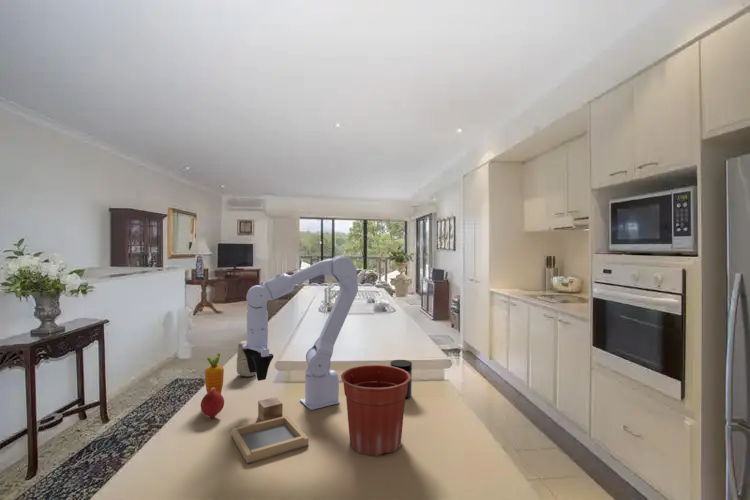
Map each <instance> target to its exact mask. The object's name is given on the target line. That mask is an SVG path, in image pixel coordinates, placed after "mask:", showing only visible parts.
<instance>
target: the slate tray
mask: <svg viewBox="0 0 750 500" xmlns="http://www.w3.org/2000/svg"><path fill="white" fill-rule="evenodd" d="M231 438H232V439H233V442H234V444H235V445H236V448H237V449H238V450H239V453H240V454H241V455H242V457H243V459H244V460H245V463H246V464H247V465H248V464H252V463H255V462H258V461H262V460H265V459H268V458H272V457H275V456H279V455H282V454H285V453H288V452H292V451H296V450H299V449H302V448H306V447H308V446H309V437H308V436H307V435H306V433H305V432H304V431H302V429H301V428H300V427H298V425H297V424H296V423H295V422H294V421H293V420H292V419H291V418H290V417H289V415H287V414H286V415H282V417H278V418H274V419H270V420H266V421H258V422H255V423H251V424H246V425H241V426H238V427H233V428H231Z"/></svg>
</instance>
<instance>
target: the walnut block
mask: <svg viewBox="0 0 750 500" xmlns="http://www.w3.org/2000/svg"><path fill="white" fill-rule="evenodd" d="M283 405H284V404H283V402H281V400H280V399H279V398H278V397H270V398H267V399H261V400H258V401H257V418H259V420H260V422H262V421H266V420H270V419H274V418H278V417H282V416H283V411H284V409H283Z"/></svg>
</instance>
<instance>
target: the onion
mask: <svg viewBox="0 0 750 500" xmlns="http://www.w3.org/2000/svg"><path fill="white" fill-rule="evenodd" d="M215 390H216V388H212V389H211V390H210V392H208V393H207V392H206V394H205V395H204V396H203V398H202V399H201V402H200V411H201V412H202V414H203V415H204V416H206V417H208V418H210V419H214V418H215V417H216V416H217V415H218V414H219V413H221V412H222V411H223V409H224V406H225V398H224V397H223V395H222V393H221V394H220V393H219V392H217V391H215Z"/></svg>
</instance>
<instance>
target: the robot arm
mask: <svg viewBox="0 0 750 500" xmlns="http://www.w3.org/2000/svg"><path fill="white" fill-rule="evenodd" d="M357 271H358V270H357V267H356V266H355V264H354V262H353V260H352V259H351V258H349V257H347V256H342V255H336V256H333V257H332V258H325V259H323V260H320V261H318V262H315V263H314V264H311V265H309V266H308V267H305V268H303V269H300V270H298V271H297V272H295V273H293V274H288V273H276V274H275V277H272V278H271V279H268V280H266V281H264V280H262V281H260V282H259V285H258V284H256V285H252V286H251V287H250V288H249V289H248V290H247V293H246V296H245V297H246V302H247V306H246V309H247V311H246V340H247V343H246V344H244V345H242V347H243V349H242V350H243V352H244V354H245V356H246V359H247V363H248V368H249V372H250V373H253V372H256V374H255V376H256V380H257V381H265V380H267V375H268V371H269V367H270V364H271V363H272V360H273V359H274V354H273V353H270V349H269V345H270V343H269V312H268V307H267V305H268V304H267V303H268V301H274V300H277V299H279V298H281V297H283V296H285V295H288V294H290V293H292V292H293V291H294V288H295V286H296V285H299V284H301V283H304V282H306V281H309V280H312V279H314V278H317V277H318V276H330V277H331V276H332V277H334V279H335V280H336V282H337V284H338V285H337V286H338V287H339V292H338V294H337V297H336V298H335V300H334V301H335V302H334V303H333V306H332V307H331V310H330V313H329V314H328V317H327V318H326V321H325V323H324V326H323V328H322V330H321V332H320V334H319V337H318V338H317V339H316V340H315V341H314V343H313V346H312V347H311V348H309V349H308V350H307V352H306V355H305V360H306V363H307V365H308V366H307V369H306V370H305V376H304V380H305V381H304V385H305V386H304V389H305V390H304V395H305V396H304V397H303V398H300V399H299V401H300V402H301V403H302V404H303V405H304V406H305V407H307V408H308V409H309V410H311V411H313V410H317V409H321V408H325V407H329V406H333V405H338V404H340V402H341V401H340V400H339V395H340V392H339V391H340V389H339V388H340V385H339V382H340V381H339V380H340V379H339V375H338V373H337V371H336V370H335V369H330V368H331V364H332V363H331V359H332V356H333V353H334V348H335V347H334V346H335V344H336V342H337V338H338V337H339V334H340V332H341V330H342V328H343V325H344V323H345V321H346V318H347V317H348V314H349V313H350V310H351V308H352V305H353V303H354V301H355V299H356V296H357V295H358V292H359V284H358V277H357V275H358V274H357Z"/></svg>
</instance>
